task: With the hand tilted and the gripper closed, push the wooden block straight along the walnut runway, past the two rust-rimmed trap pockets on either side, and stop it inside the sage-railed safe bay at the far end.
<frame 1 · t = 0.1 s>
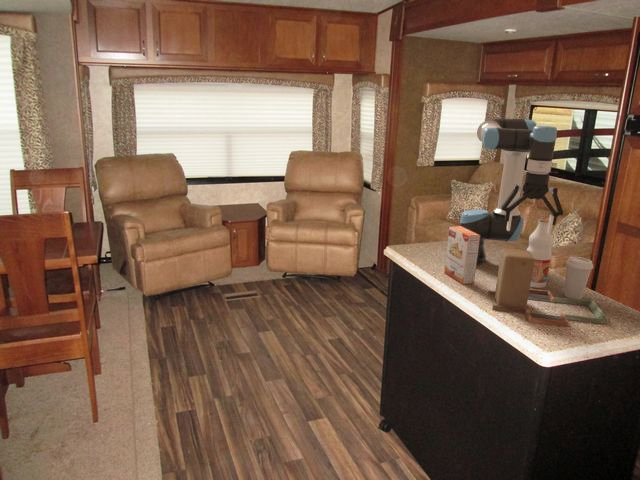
hand: (528, 231, 176), 28 cm above the table, tool pointing down, fingers open, 13 cm apart
wooden block: (509, 304, 184), on the table
fruit juice: (533, 284, 204), on the table
cracker box: (458, 278, 208), on the table
coffee cup: (572, 296, 194), on the table
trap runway: (541, 307, 182), on the table
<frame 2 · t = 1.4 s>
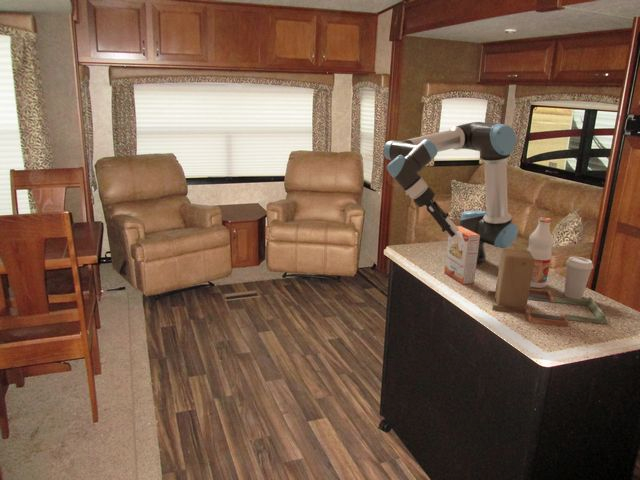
hand: (457, 236, 181), 24 cm above the table, tool tilted 45°, fingers open, 13 cm apart
nothing on the table moved.
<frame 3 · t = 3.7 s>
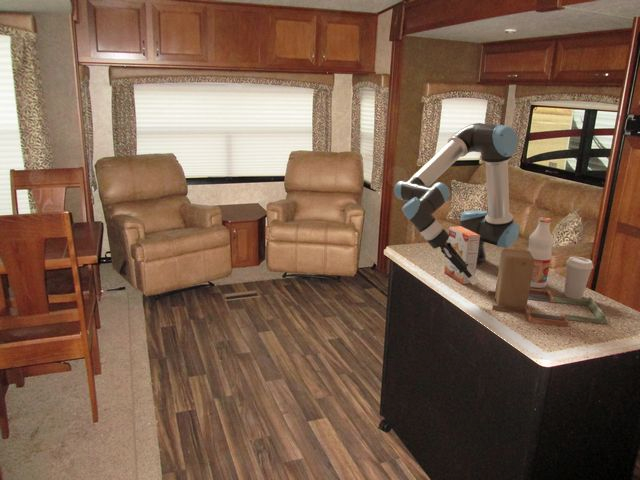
hand: (475, 282, 183), 7 cm above the table, tool tilted 45°, fingers closed
nothing on the table moved.
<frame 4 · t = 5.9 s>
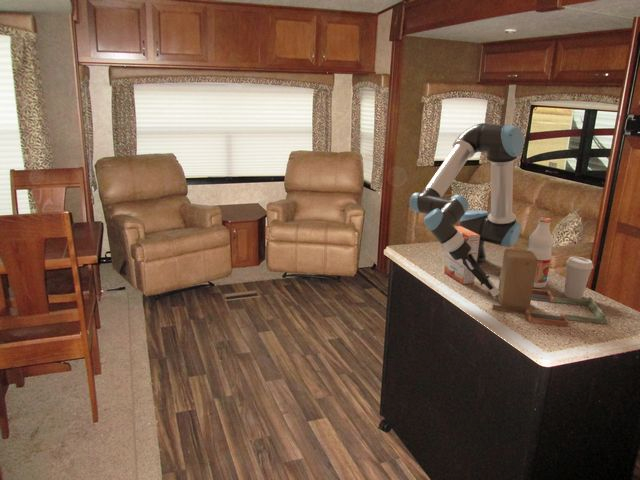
hand: (496, 294, 183), 4 cm above the table, tool tilted 45°, fingers closed
wooden block: (512, 304, 184), on the table, touching gripper
everything else where it was.
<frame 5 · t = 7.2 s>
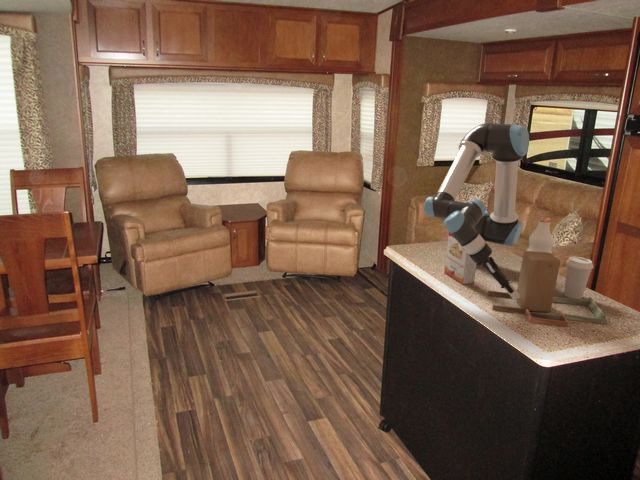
hand: (517, 297, 181), 3 cm above the table, tool tilted 45°, fingers closed
wooden block: (532, 307, 182), on the table, touching gripper
everything else where it was.
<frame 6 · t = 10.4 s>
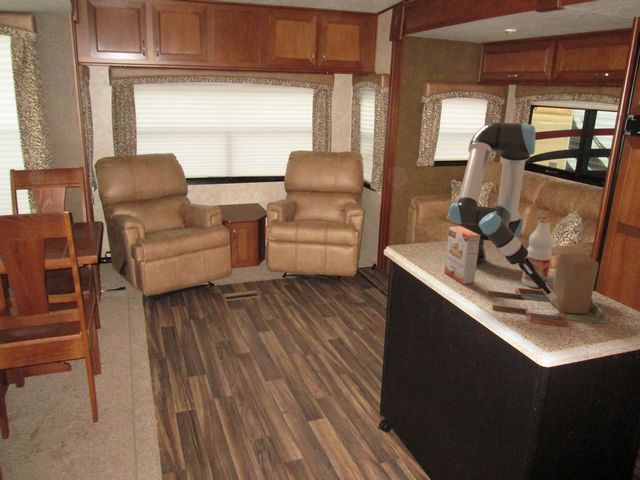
hand: (554, 298, 180), 4 cm above the table, tool tilted 45°, fingers closed
wooden block: (568, 309, 182), on the table, touching gripper, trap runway
everything else where it was.
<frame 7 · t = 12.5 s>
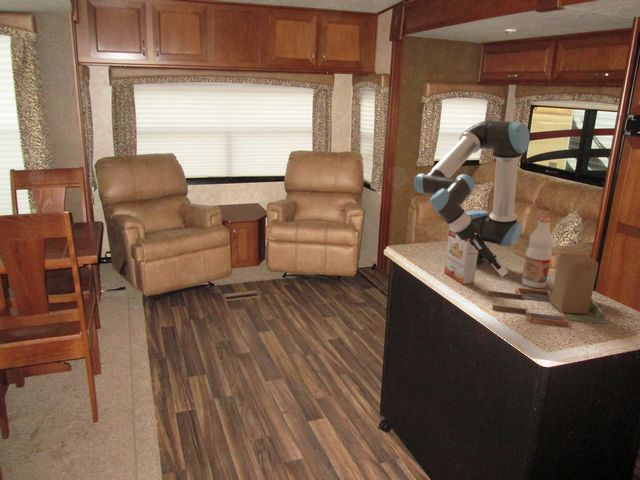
hand: (504, 273, 181), 12 cm above the table, tool tilted 45°, fingers closed
wooden block: (568, 309, 182), on the table
everything else where it was.
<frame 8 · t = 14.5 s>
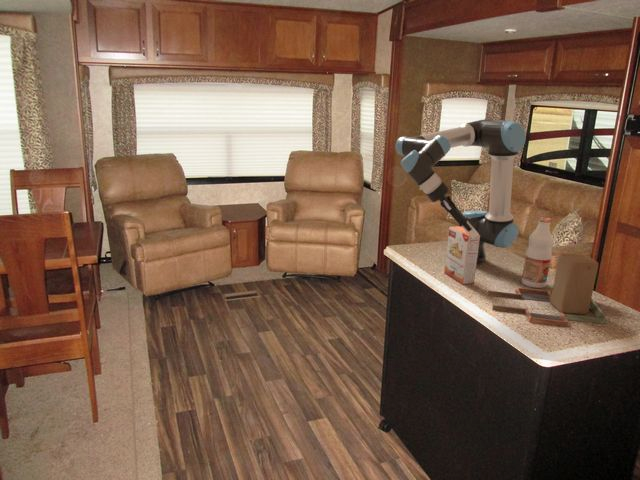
hand: (475, 236, 182), 24 cm above the table, tool tilted 45°, fingers closed
nothing on the table moved.
at the end: wooden block inside the target area (2.2 cm from its centre), on the table; wooden block tilted 0°; wooden block moved 20.9 cm from its start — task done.
